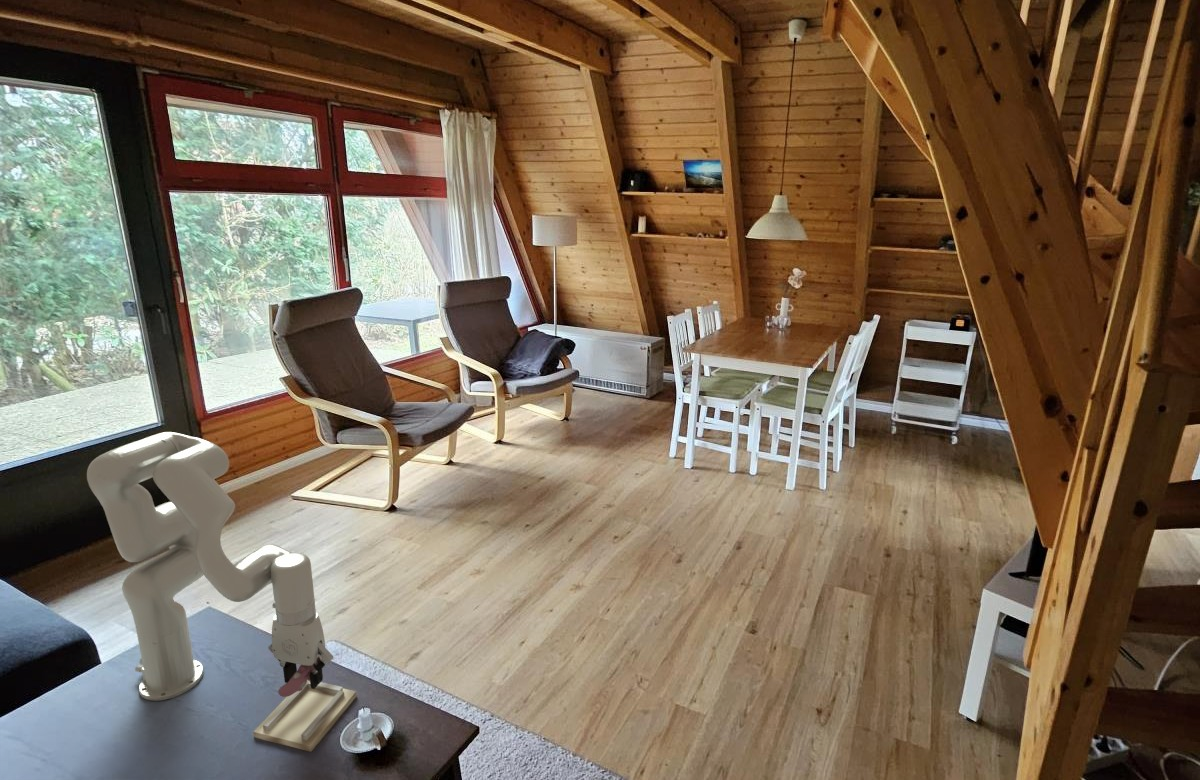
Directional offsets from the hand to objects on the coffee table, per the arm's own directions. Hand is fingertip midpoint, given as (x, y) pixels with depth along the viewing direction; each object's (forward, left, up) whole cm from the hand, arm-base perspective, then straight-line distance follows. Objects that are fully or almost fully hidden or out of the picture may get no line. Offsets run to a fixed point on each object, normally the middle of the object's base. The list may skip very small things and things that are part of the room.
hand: (303, 680), depth 137 cm
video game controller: (0, 0, -1) cm, 1 cm away
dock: (0, 0, -10) cm, 10 cm away
